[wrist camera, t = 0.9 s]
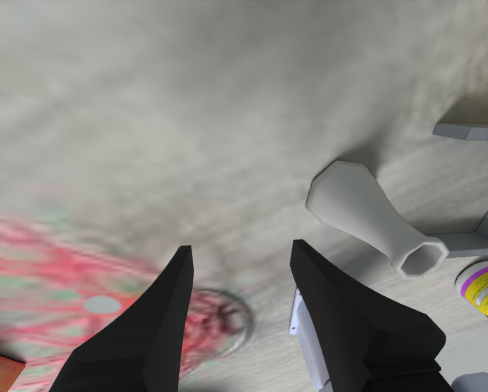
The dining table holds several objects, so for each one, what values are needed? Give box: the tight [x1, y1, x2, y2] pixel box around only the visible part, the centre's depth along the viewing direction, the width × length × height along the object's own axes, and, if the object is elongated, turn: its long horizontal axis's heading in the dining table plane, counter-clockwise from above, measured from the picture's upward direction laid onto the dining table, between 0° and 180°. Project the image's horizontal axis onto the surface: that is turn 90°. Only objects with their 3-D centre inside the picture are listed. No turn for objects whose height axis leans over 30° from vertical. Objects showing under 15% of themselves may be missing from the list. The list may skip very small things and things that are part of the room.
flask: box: [305, 160, 450, 279], centre depth 17 cm, size 7×7×10 cm
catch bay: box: [425, 123, 488, 258], centre depth 22 cm, size 14×12×3 cm
